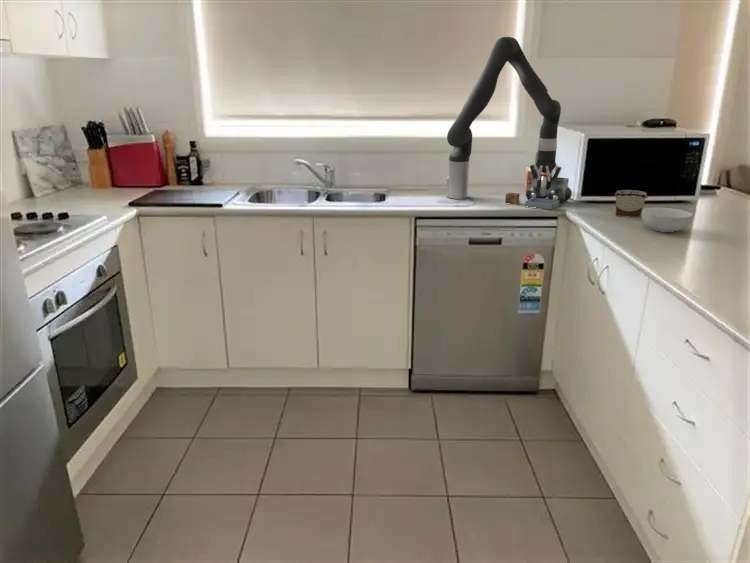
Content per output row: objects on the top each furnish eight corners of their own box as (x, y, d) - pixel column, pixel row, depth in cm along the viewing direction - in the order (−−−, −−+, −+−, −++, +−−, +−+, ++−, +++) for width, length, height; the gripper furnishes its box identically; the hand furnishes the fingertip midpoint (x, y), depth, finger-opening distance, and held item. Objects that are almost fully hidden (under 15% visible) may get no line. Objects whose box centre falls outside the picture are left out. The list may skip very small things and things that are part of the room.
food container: (643, 214, 240) (646, 190, 237) (644, 217, 235) (648, 193, 231) (611, 212, 244) (614, 189, 241) (611, 215, 239) (614, 191, 235)
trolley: (525, 202, 265) (529, 153, 257) (534, 197, 274) (538, 150, 267) (562, 206, 255) (567, 155, 248) (571, 201, 265) (576, 152, 257)
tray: (525, 207, 256) (525, 201, 255) (532, 203, 263) (533, 197, 262) (552, 210, 249) (552, 204, 248) (559, 206, 256) (559, 200, 255)
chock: (505, 203, 263) (505, 193, 262) (508, 202, 266) (509, 192, 265) (515, 204, 261) (516, 194, 259) (519, 203, 264) (519, 193, 262)
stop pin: (537, 195, 254) (539, 172, 250) (540, 193, 257) (542, 171, 253) (546, 196, 251) (548, 173, 248) (549, 194, 255) (551, 171, 251)
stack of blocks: (523, 188, 298) (525, 164, 293) (536, 188, 296) (538, 164, 292) (525, 196, 278) (527, 170, 274) (539, 196, 277) (541, 171, 273)
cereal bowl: (686, 238, 205) (690, 219, 203) (636, 232, 214) (639, 213, 211) (691, 228, 219) (694, 209, 217) (643, 222, 227) (646, 205, 225)
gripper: (528, 149, 248) (525, 189, 254) (560, 150, 241) (557, 192, 246) (534, 147, 254) (531, 186, 260) (566, 149, 246) (562, 189, 252)
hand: (543, 188), depth 253 cm, fingers closed on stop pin, 3 cm apart
